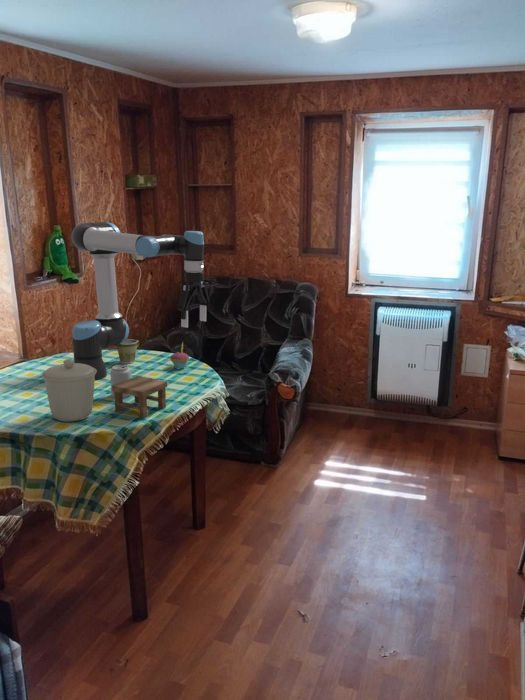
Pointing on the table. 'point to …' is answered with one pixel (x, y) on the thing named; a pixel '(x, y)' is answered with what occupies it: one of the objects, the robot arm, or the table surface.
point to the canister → (70, 390)
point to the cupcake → (179, 359)
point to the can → (119, 376)
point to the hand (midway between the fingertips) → (194, 324)
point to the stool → (140, 393)
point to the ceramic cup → (127, 351)
